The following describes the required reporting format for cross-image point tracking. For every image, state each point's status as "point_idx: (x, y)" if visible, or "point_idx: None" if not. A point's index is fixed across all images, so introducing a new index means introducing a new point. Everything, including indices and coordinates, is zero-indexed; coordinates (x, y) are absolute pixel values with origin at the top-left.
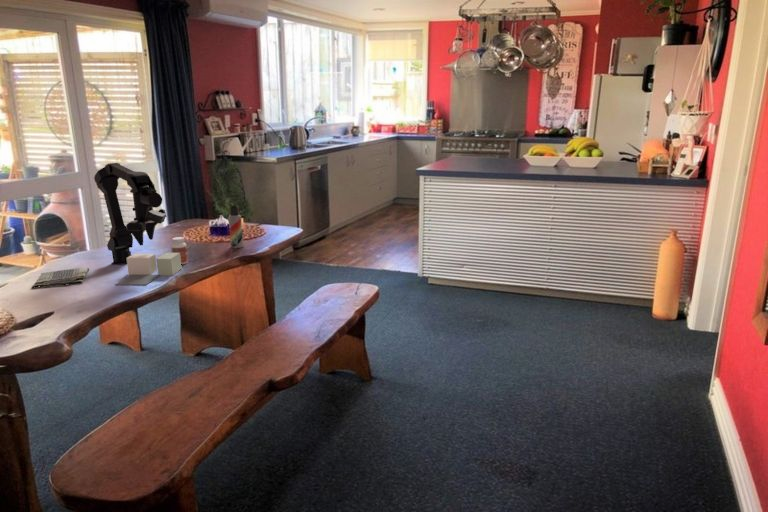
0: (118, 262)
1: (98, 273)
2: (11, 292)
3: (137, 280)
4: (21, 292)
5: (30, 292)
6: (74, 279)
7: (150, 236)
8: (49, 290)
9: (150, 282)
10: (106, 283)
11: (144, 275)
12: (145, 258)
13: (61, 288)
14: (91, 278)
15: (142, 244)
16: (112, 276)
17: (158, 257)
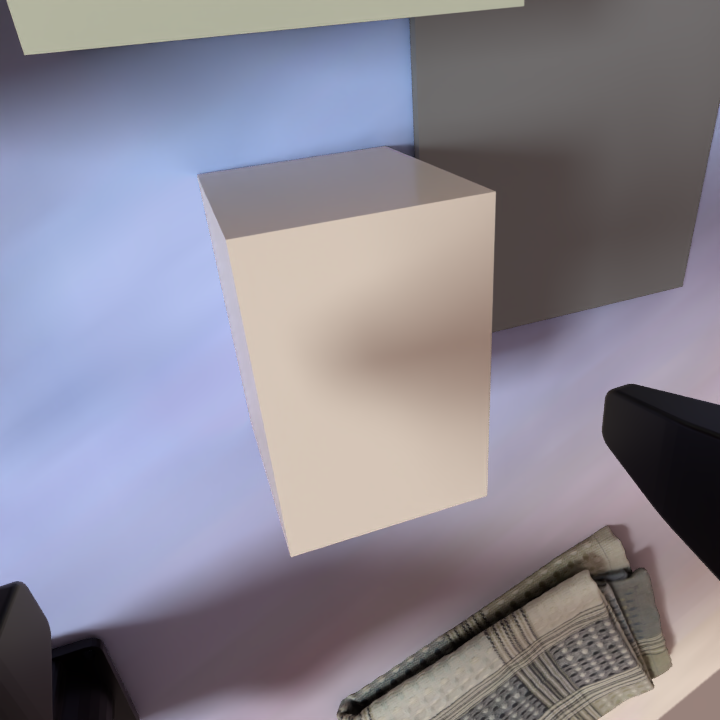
0: (112, 699)
1: (391, 610)
2: (696, 676)
3: (611, 146)
4: (705, 647)
5: (713, 618)
6: (610, 587)
7: (23, 696)
8: (701, 573)
9: None
10: (624, 382)
11: None
12: (493, 239)
13: (680, 550)
14: (506, 559)
15: (650, 388)
16: None
17: (443, 4)
